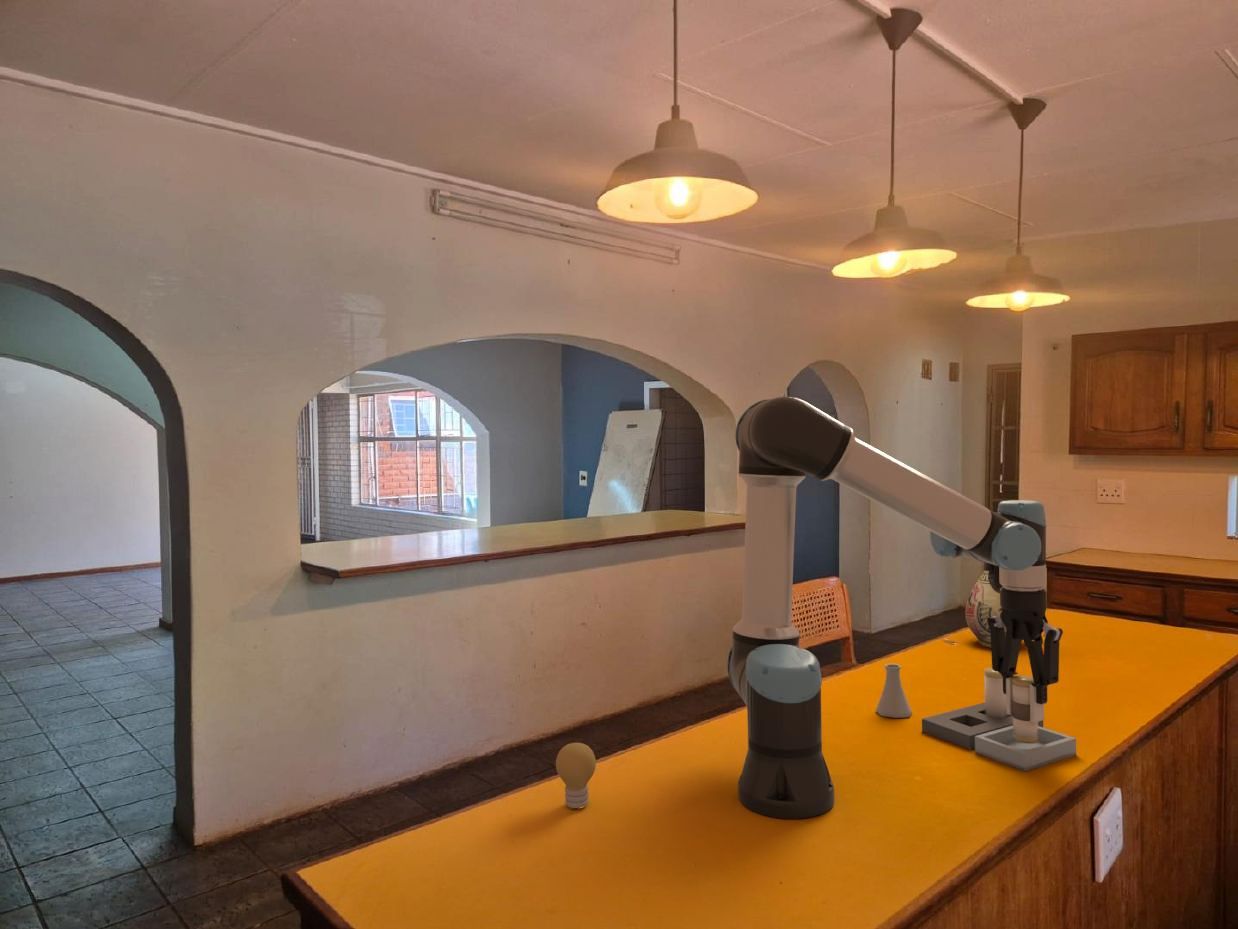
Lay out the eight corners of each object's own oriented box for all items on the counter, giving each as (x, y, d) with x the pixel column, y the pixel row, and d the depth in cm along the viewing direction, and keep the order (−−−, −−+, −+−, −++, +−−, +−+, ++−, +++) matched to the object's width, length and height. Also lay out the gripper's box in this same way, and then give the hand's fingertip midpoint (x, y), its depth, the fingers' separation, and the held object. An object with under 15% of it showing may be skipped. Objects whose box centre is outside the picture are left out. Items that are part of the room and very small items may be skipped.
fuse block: (969, 749, 149) (969, 736, 149) (922, 731, 159) (921, 718, 159) (1043, 728, 159) (1043, 715, 159) (994, 712, 169) (993, 700, 169)
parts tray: (1025, 771, 139) (1024, 754, 139) (975, 752, 148) (974, 736, 148) (1076, 755, 145) (1076, 738, 145) (1025, 737, 154) (1025, 722, 154)
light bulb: (559, 797, 134) (557, 737, 133) (598, 797, 134) (596, 736, 133) (554, 815, 127) (553, 752, 127) (595, 815, 127) (594, 751, 127)
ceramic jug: (958, 638, 231) (957, 532, 230) (1016, 638, 228) (1015, 531, 228) (976, 653, 214) (975, 539, 213) (1039, 654, 212) (1037, 539, 211)
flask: (914, 720, 166) (913, 671, 165) (877, 718, 167) (876, 670, 167) (909, 708, 173) (908, 661, 172) (873, 707, 174) (872, 660, 174)
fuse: (998, 730, 158) (997, 674, 158) (980, 724, 162) (979, 669, 161) (1012, 727, 160) (1011, 671, 160) (994, 721, 164) (993, 666, 163)
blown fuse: (1028, 745, 144) (1027, 683, 144) (1008, 738, 147) (1007, 678, 147) (1043, 740, 146) (1042, 679, 145) (1022, 734, 149) (1021, 674, 149)
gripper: (1082, 591, 140) (1084, 727, 141) (995, 578, 155) (997, 700, 156) (1054, 596, 136) (1056, 735, 137) (968, 582, 152) (970, 707, 152)
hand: (1025, 716), depth 146 cm, fingers closed on blown fuse, 4 cm apart
